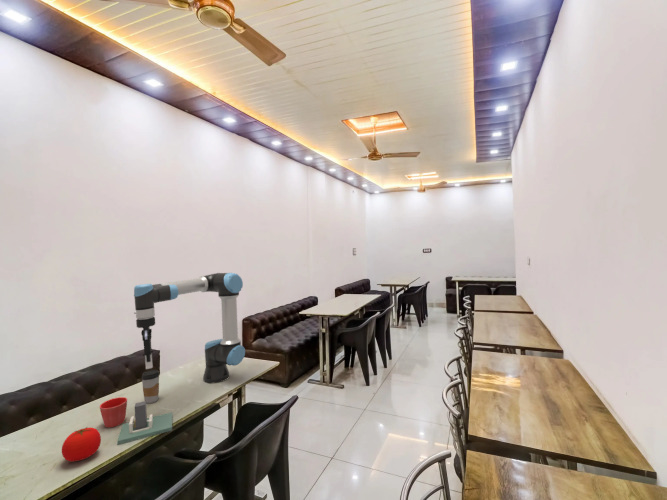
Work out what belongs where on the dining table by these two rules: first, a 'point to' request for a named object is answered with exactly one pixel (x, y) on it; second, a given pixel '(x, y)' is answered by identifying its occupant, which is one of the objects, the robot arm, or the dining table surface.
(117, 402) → the flower pot
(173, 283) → the robot arm
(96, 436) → the tomato
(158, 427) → the board
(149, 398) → the coffee cup
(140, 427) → the plug
